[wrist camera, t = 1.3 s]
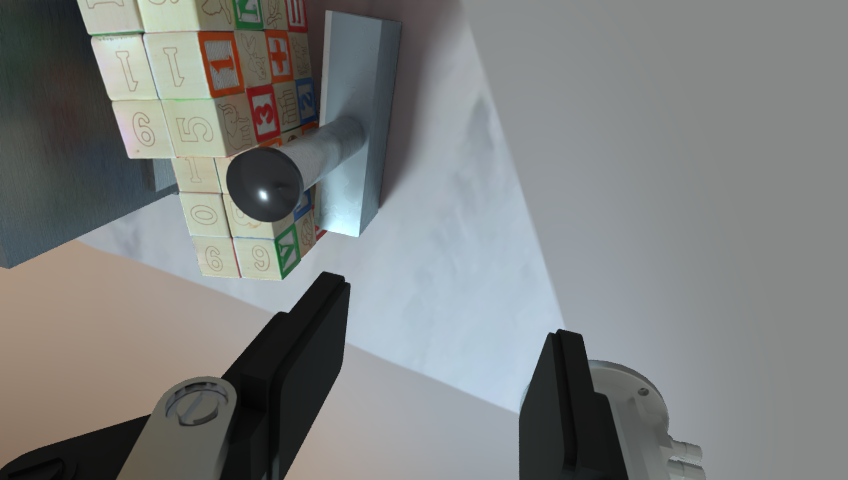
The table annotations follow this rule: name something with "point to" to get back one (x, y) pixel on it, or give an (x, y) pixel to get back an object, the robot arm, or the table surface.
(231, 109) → the stack of blocks
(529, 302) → the table surface
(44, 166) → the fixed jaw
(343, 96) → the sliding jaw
